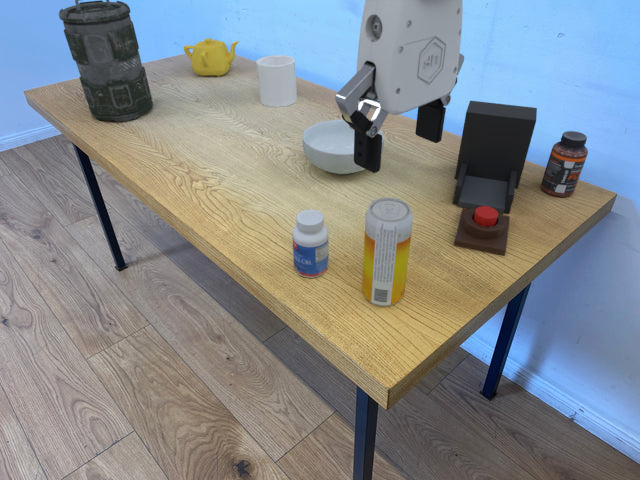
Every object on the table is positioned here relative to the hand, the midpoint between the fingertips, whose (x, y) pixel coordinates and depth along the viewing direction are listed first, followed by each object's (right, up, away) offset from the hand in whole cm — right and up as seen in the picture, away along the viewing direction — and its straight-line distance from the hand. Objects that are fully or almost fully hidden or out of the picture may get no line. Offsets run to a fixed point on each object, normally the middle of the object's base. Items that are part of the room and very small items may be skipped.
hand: (398, 152), depth 50 cm
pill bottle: (-10, -14, +24) cm, 29 cm away
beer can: (+1, -17, +19) cm, 26 cm away
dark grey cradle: (+24, +1, +41) cm, 47 cm away
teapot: (-42, +44, +100) cm, 117 cm away
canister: (-61, +25, +76) cm, 100 cm away
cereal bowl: (-4, +6, +50) cm, 50 cm away
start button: (+19, -6, +28) cm, 35 cm away
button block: (+19, -8, +30) cm, 36 cm away
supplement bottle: (+37, 0, +40) cm, 55 cm away
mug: (-20, +30, +81) cm, 89 cm away
